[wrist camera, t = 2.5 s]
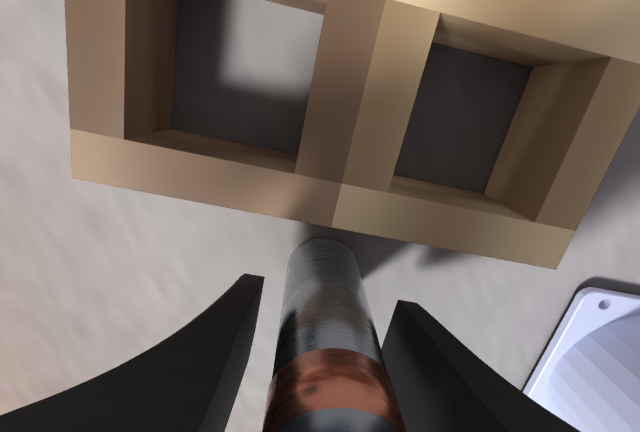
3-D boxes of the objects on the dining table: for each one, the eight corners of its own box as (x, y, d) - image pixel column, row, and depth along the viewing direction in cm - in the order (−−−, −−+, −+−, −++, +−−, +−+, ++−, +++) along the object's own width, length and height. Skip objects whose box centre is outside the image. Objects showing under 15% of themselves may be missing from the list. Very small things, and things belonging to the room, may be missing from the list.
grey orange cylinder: (366, 243, 13) (434, 423, 6) (349, 305, 14) (388, 523, 7) (293, 230, 13) (270, 400, 6) (280, 293, 14) (247, 509, 6)
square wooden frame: (376, -23, 10) (403, -72, 7) (326, 197, 12) (330, 227, 9) (135, -88, 9) (57, -169, 6) (130, 158, 11) (72, 178, 9)
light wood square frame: (587, 32, 10) (688, 9, 8) (502, 231, 13) (555, 269, 10) (376, -23, 10) (403, -72, 7) (326, 197, 12) (330, 227, 9)
